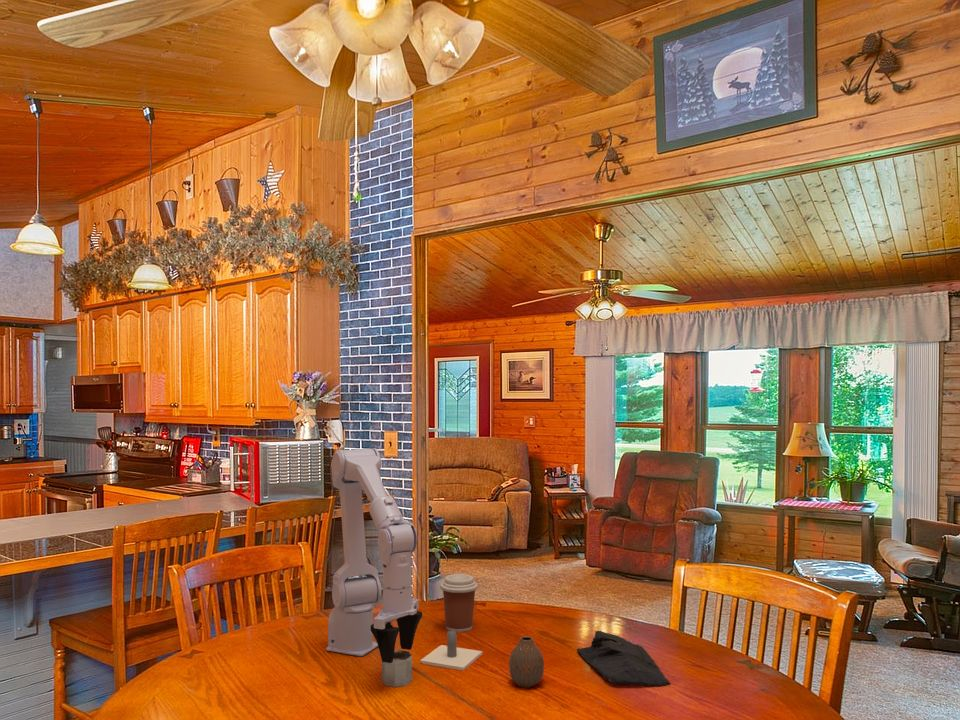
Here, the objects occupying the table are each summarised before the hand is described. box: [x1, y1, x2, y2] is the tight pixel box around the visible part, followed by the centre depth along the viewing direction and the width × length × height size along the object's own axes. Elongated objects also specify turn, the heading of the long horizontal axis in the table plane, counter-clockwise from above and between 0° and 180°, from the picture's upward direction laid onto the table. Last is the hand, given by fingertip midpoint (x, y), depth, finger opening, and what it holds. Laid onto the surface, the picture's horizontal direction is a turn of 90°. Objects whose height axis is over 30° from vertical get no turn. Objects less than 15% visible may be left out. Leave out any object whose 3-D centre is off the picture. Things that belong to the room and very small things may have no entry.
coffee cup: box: [439, 573, 479, 633], centre depth 177 cm, size 9×9×12 cm
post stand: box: [419, 630, 483, 671], centre depth 156 cm, size 10×10×6 cm
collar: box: [381, 649, 413, 688], centre depth 144 cm, size 6×6×5 cm
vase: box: [508, 635, 545, 688], centre depth 143 cm, size 7×7×9 cm
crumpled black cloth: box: [576, 630, 671, 687], centre depth 152 cm, size 15×22×5 cm
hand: (397, 655), depth 144 cm, fingers open, 7 cm apart
